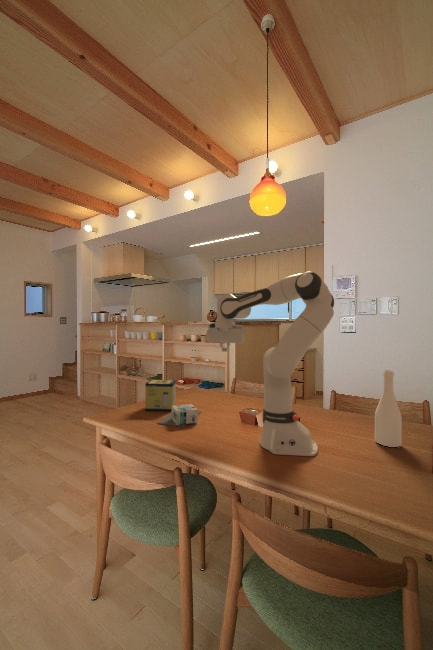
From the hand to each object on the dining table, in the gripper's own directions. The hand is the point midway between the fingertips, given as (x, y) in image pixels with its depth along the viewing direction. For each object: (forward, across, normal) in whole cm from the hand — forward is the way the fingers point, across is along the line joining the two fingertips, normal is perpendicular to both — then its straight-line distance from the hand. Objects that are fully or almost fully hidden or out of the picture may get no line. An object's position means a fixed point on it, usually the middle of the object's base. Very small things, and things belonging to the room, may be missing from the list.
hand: (224, 351), depth 154 cm
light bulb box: (+30, +12, +11) cm, 34 cm away
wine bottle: (+34, -73, +13) cm, 82 cm away
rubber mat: (+34, +21, +9) cm, 41 cm away
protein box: (+34, +38, -2) cm, 51 cm away
